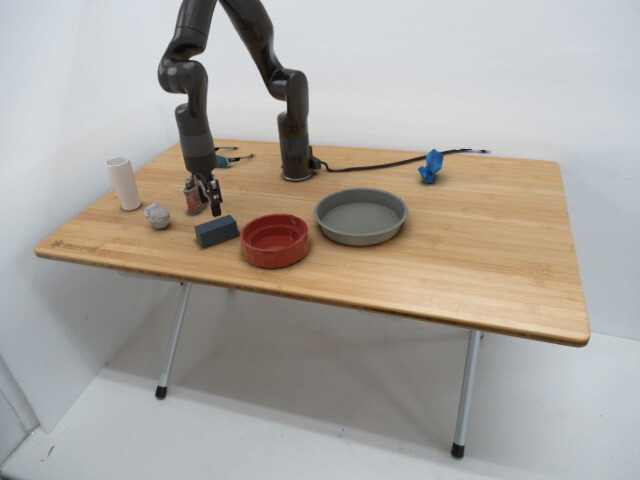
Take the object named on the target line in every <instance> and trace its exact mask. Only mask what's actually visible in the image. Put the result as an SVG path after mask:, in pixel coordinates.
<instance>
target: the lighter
mask: <svg viewBox="0 0 640 480" xmlns="http://www.w3.org/2000/svg"><path fill="white" fill-rule="evenodd" d="M184 185H185V186H184V188H183V190H182V192H183V194H184V197H185V201H186V204H187V209H188V215H191V216H195V215H198V214H199V213H200V212H201V211H202V210H203V209H204V207H205V205H206V203H204V204H202V203H201V202H200V197H199V193H198V190H197V189H196V185H194V184H193V179H192V174H191V175H190V176H189V177H188V176H187V177H186V178H185V181H184Z"/></svg>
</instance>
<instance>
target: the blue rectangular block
mask: <svg viewBox="0 0 640 480" xmlns="http://www.w3.org/2000/svg"><path fill="white" fill-rule="evenodd" d="M193 228H194V232H195V236H196V240H197V242H198V243H199V245H200V246H201V248H202V249H205V248H208V247H212V246H213V245H216V244H219V243H222V242H225V241H227V240H229V239H233V238H235V237H238V236H240V232H239V228H238V222H237V220H236V219H235V218H234V217H233V216H232V214H226V215H224V216H221V217H217V218H215V219H212V220H209V221H206V222H204V223H200V224H197V225H194V226H193Z"/></svg>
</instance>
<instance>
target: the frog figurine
mask: <svg viewBox="0 0 640 480" xmlns="http://www.w3.org/2000/svg"><path fill="white" fill-rule="evenodd" d="M143 215H144V218H145V219H146V220H147V222H148V223H150V225H151V226H152V227H154V229H160V230H161V229H164V228H166V227H167V226H168V225H169V224H170V219H171V213H170V212H169V210H168V209H167V208H166V207H164V206H162V205H161V204H159V203H157V202H152V203H151V204H149V205H147V206H146V207H145V208H144V210H143Z"/></svg>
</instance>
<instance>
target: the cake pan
mask: <svg viewBox="0 0 640 480" xmlns="http://www.w3.org/2000/svg"><path fill="white" fill-rule="evenodd" d="M408 214H409V207H408V205H407V203H406V202H405V201H404V200H403V199H402V198H401V197H399V196H398V195H396V194H394V193H392V192H389V191H387V190H383V189H379V188H373V187H350V188H344V189H340V190H336V191H334V192H331V193H329V194H327V195H325V196H324V197H322V198H321V199H320V200H319V201H318V202H317V203H316V204H315V206H314V209H313V217H314V219H315V220H316V222H317V223H318V224H319V225H320V228H321V231H322V232H323V234H324V235H325V236H326V237H328V238H329V239H331V240H333V241H334V242H337V243H338V244H339V243H340V244H343V245H348V246H357V247H358V246H359V247H361V246H362V247H363V246H372V245H378V244H381V243H383V242H385V241H388V240H390V239H391V238H393V237H394V236H395V235H396V234H397V233H398V232H399V231H400V228H401V226H402V224H403V223H404V222H405V221H406V220H407V218H408Z"/></svg>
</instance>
